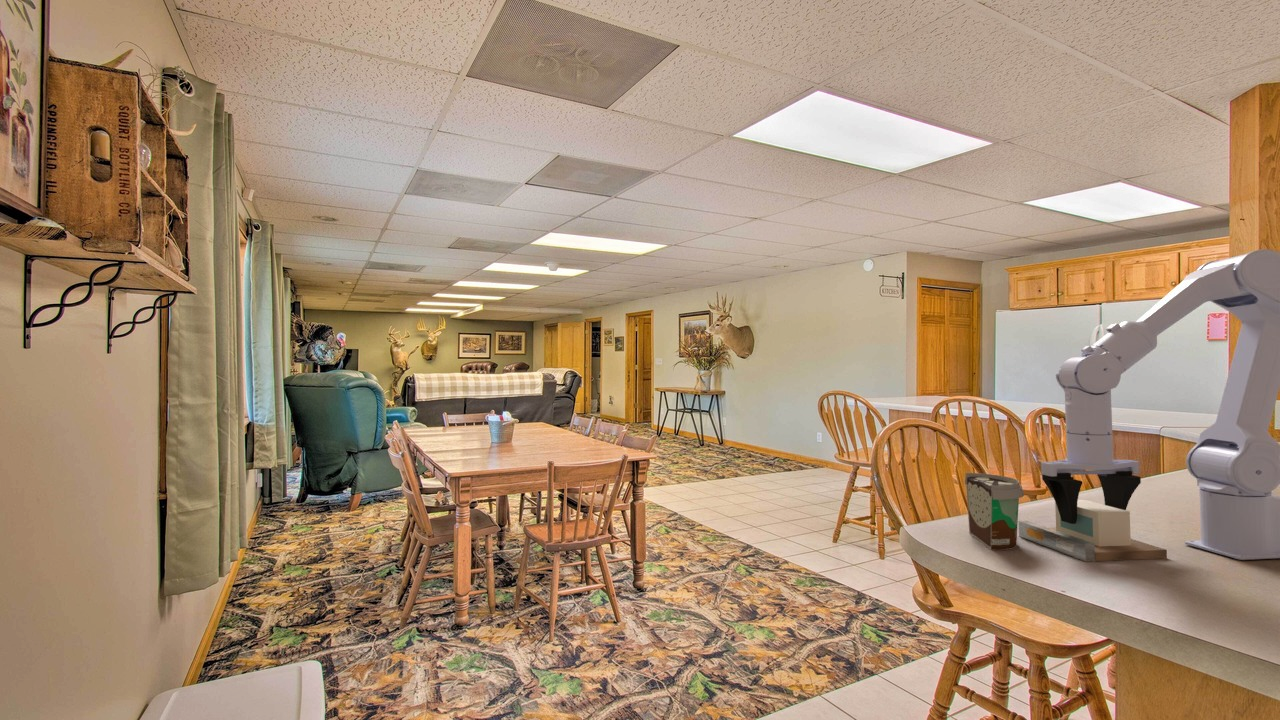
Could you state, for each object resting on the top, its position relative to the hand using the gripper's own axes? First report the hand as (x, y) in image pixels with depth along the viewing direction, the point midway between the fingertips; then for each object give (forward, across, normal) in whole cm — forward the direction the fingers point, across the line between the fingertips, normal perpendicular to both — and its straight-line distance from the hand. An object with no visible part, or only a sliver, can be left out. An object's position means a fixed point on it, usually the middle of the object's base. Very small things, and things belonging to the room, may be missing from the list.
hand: (1091, 521), depth 90 cm
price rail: (+4, +6, 0) cm, 7 cm away
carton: (+3, 0, 0) cm, 3 cm away
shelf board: (+4, 0, 0) cm, 4 cm away
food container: (+4, +12, -4) cm, 13 cm away
